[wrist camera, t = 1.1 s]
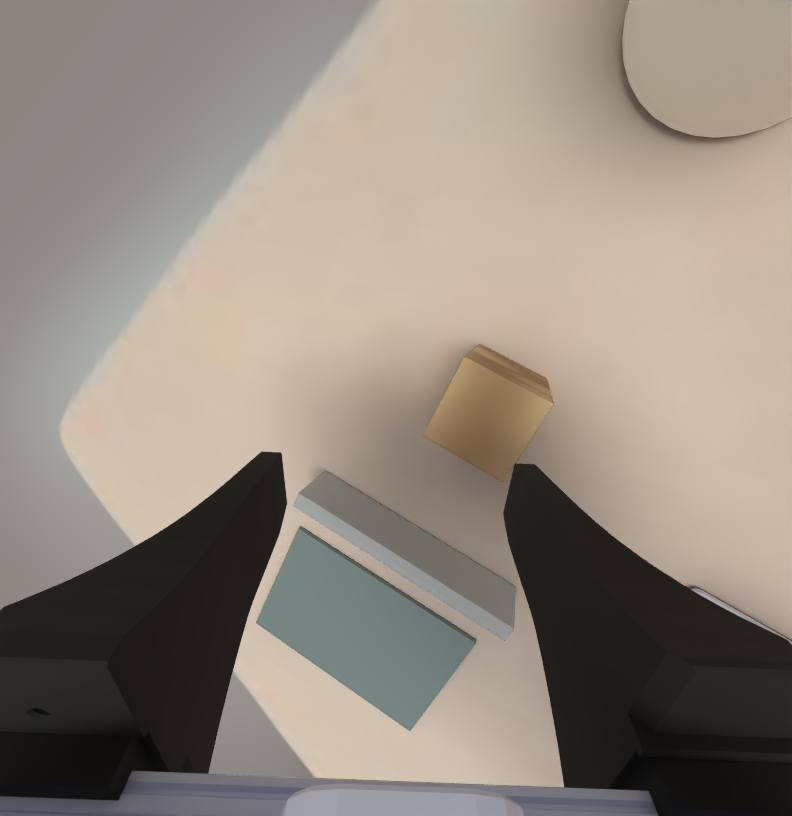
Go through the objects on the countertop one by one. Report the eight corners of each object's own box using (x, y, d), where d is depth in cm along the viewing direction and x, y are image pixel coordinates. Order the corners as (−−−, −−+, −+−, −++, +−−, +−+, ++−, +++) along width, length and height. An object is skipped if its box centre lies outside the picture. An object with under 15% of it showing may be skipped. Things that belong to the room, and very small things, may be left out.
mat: (476, 639, 27) (475, 643, 27) (411, 727, 30) (409, 731, 30) (300, 526, 29) (298, 528, 29) (258, 620, 32) (255, 622, 32)
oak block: (547, 378, 22) (553, 403, 16) (508, 439, 23) (502, 482, 18) (480, 344, 22) (464, 356, 17) (446, 405, 24) (422, 435, 18)
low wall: (515, 587, 25) (514, 628, 22) (507, 598, 25) (504, 640, 22) (325, 470, 27) (298, 492, 24) (320, 482, 28) (292, 505, 24)
